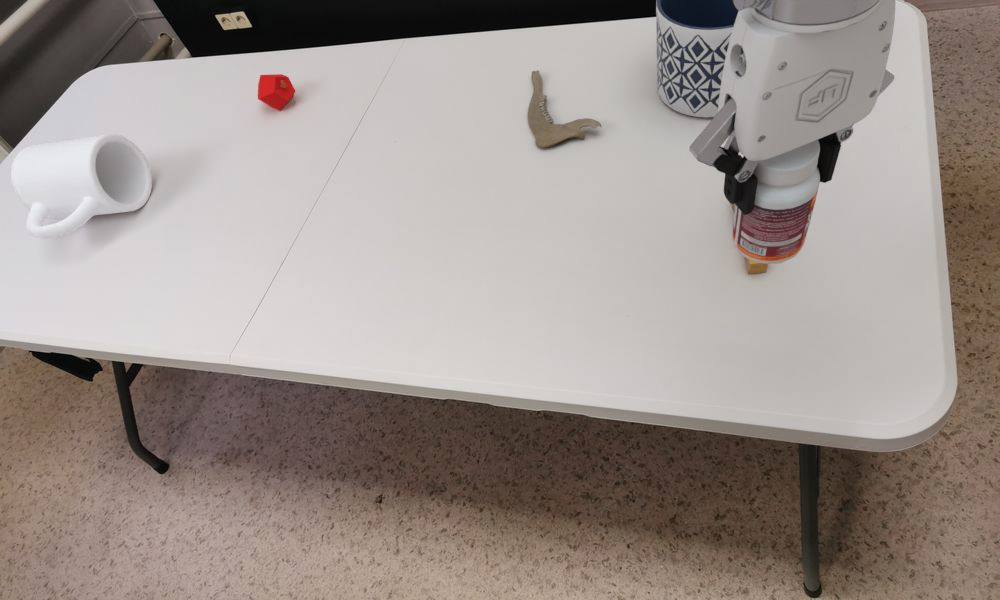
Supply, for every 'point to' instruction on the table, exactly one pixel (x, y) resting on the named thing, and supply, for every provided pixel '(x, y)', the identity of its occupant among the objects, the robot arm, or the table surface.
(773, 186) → the pill bottle
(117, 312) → the table surface
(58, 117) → the table surface
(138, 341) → the table surface
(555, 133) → the jawbone
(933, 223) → the table surface
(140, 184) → the mug
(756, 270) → the fry stick
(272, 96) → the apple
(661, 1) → the planter
